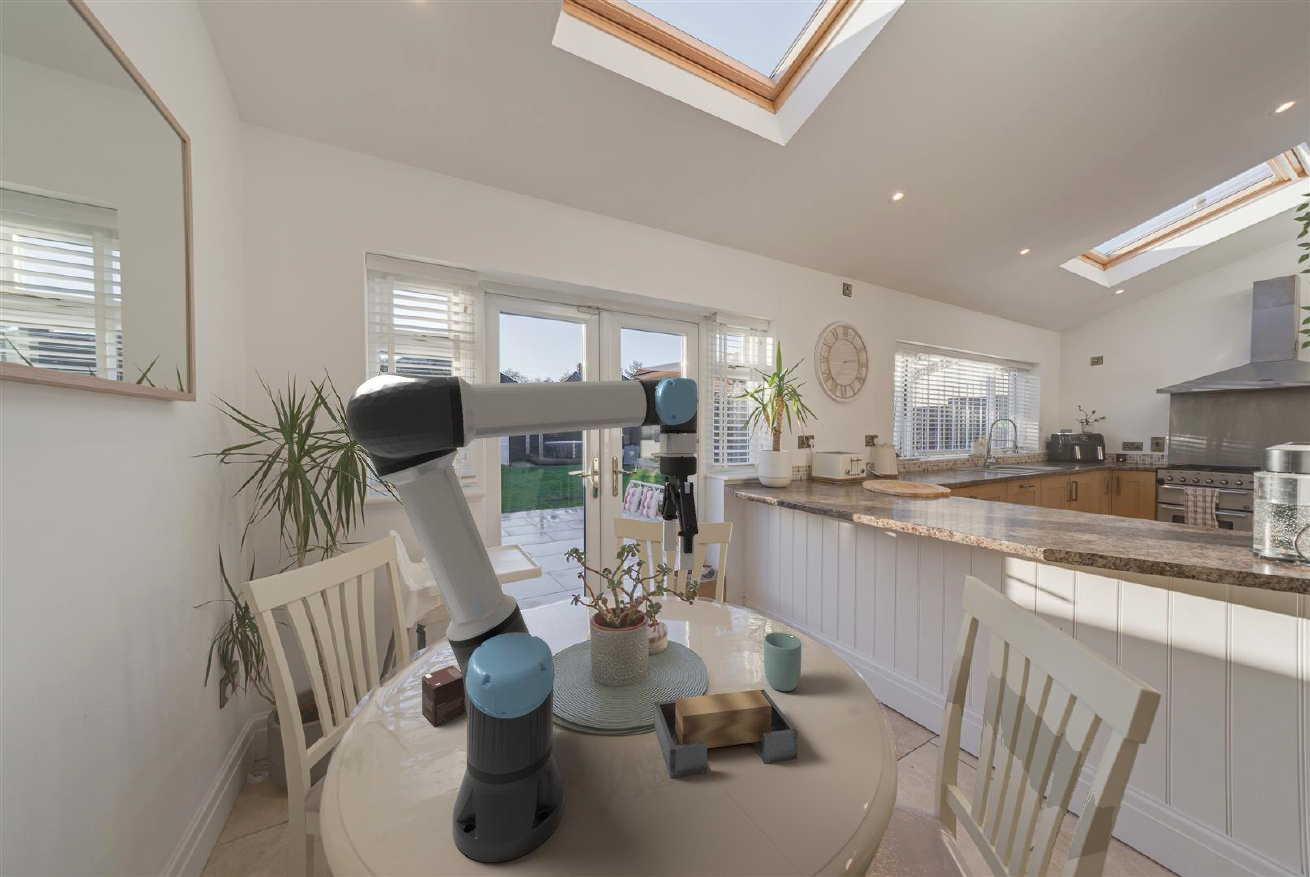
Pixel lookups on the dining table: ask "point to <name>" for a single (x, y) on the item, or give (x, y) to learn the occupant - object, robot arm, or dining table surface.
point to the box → (443, 695)
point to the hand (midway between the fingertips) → (677, 559)
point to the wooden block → (723, 718)
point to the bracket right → (777, 737)
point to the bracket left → (677, 744)
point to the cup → (782, 660)
